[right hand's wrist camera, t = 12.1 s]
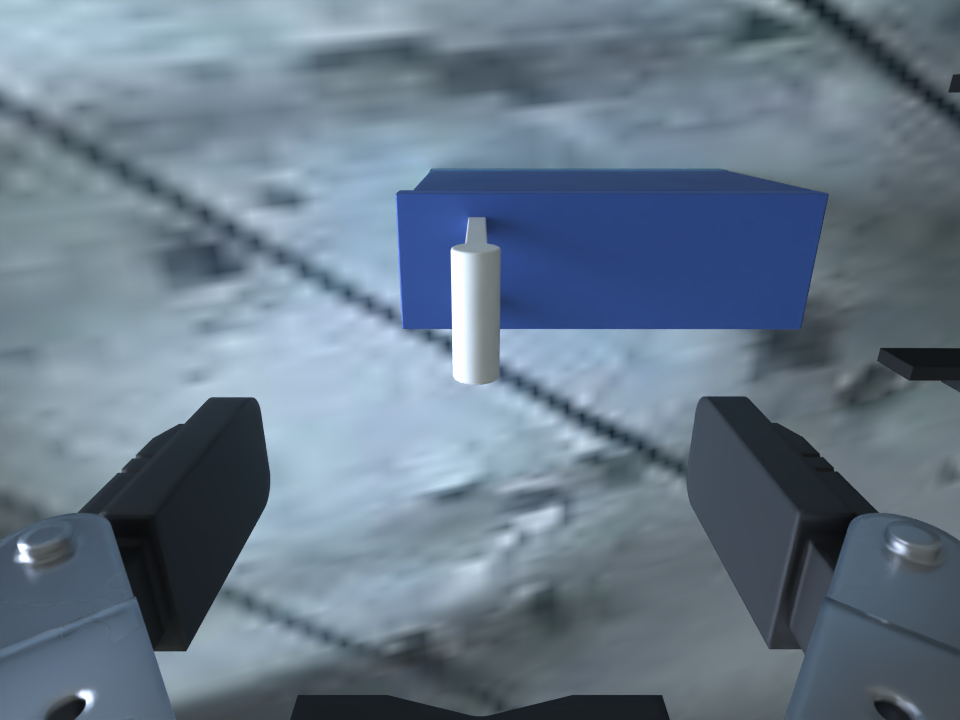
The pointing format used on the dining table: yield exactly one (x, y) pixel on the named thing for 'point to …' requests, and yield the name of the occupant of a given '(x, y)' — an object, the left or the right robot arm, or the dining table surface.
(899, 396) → the dining table surface
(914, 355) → the left robot arm
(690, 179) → the chest
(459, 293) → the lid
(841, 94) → the dining table surface
